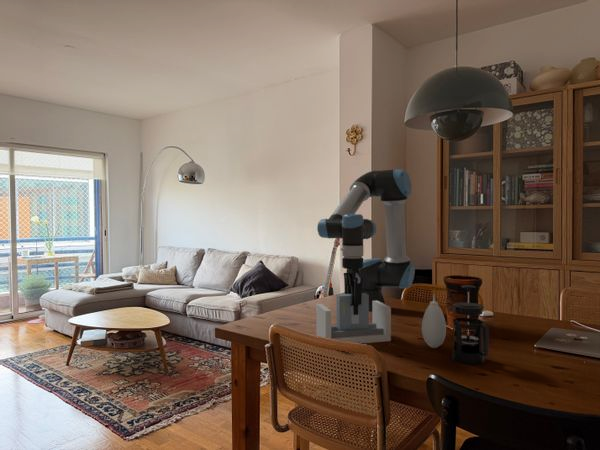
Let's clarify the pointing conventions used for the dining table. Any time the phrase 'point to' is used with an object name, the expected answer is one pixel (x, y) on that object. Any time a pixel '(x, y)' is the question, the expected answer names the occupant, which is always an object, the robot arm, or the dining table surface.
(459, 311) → the french press
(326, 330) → the door track
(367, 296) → the sliding door panel
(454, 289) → the vessel
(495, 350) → the dining table surface
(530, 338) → the dining table surface
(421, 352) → the dining table surface
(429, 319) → the white air blower bulb
